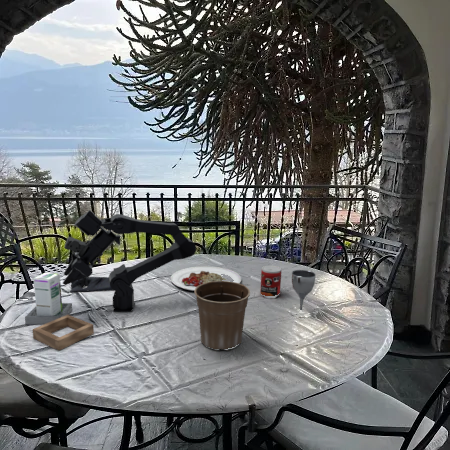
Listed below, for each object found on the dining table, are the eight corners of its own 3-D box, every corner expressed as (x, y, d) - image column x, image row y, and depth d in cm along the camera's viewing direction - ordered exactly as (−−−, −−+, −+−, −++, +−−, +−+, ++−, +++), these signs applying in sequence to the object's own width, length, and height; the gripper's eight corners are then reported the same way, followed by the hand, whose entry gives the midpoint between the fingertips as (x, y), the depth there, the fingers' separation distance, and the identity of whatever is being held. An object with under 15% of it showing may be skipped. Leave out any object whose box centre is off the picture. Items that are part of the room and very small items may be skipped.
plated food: (253, 279, 171) (254, 271, 170) (215, 301, 146) (216, 293, 145) (198, 266, 186) (198, 259, 185) (155, 284, 161) (155, 276, 161)
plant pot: (229, 362, 105) (231, 306, 102) (182, 344, 114) (183, 292, 110) (257, 337, 119) (259, 288, 116) (213, 323, 127) (214, 277, 124)
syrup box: (52, 321, 125) (49, 279, 122) (36, 319, 126) (33, 277, 123) (63, 314, 131) (60, 273, 128) (47, 312, 132) (44, 271, 129)
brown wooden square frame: (68, 323, 125) (67, 314, 124) (93, 333, 118) (93, 324, 118) (33, 338, 115) (32, 329, 114) (59, 350, 108) (58, 340, 108)
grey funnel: (314, 311, 139) (317, 271, 135) (309, 320, 132) (312, 278, 128) (292, 307, 142) (295, 268, 139) (286, 315, 135) (289, 274, 132)
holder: (72, 309, 134) (71, 303, 134) (61, 324, 124) (60, 317, 123) (39, 309, 134) (39, 302, 133) (25, 324, 123) (24, 317, 122)
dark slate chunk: (125, 293, 151) (124, 282, 150) (66, 293, 149) (66, 282, 148) (131, 279, 166) (130, 269, 165) (78, 279, 164) (77, 269, 163)
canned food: (257, 296, 151) (259, 269, 148) (263, 290, 158) (264, 264, 156) (276, 300, 148) (278, 272, 145) (282, 293, 155) (283, 266, 153)
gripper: (79, 223, 135) (46, 255, 133) (79, 235, 117) (41, 273, 116) (103, 243, 139) (72, 275, 137) (107, 258, 122) (71, 295, 120)
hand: (64, 279), depth 128 cm, fingers open, 9 cm apart
